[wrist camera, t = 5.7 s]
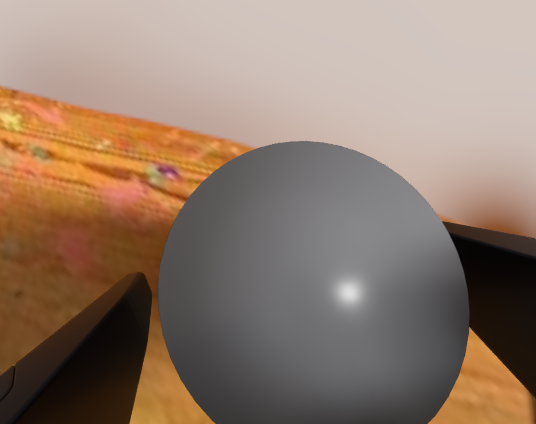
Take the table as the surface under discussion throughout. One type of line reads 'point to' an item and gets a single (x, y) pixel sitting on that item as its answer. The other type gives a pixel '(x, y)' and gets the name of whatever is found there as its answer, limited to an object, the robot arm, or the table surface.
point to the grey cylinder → (312, 292)
